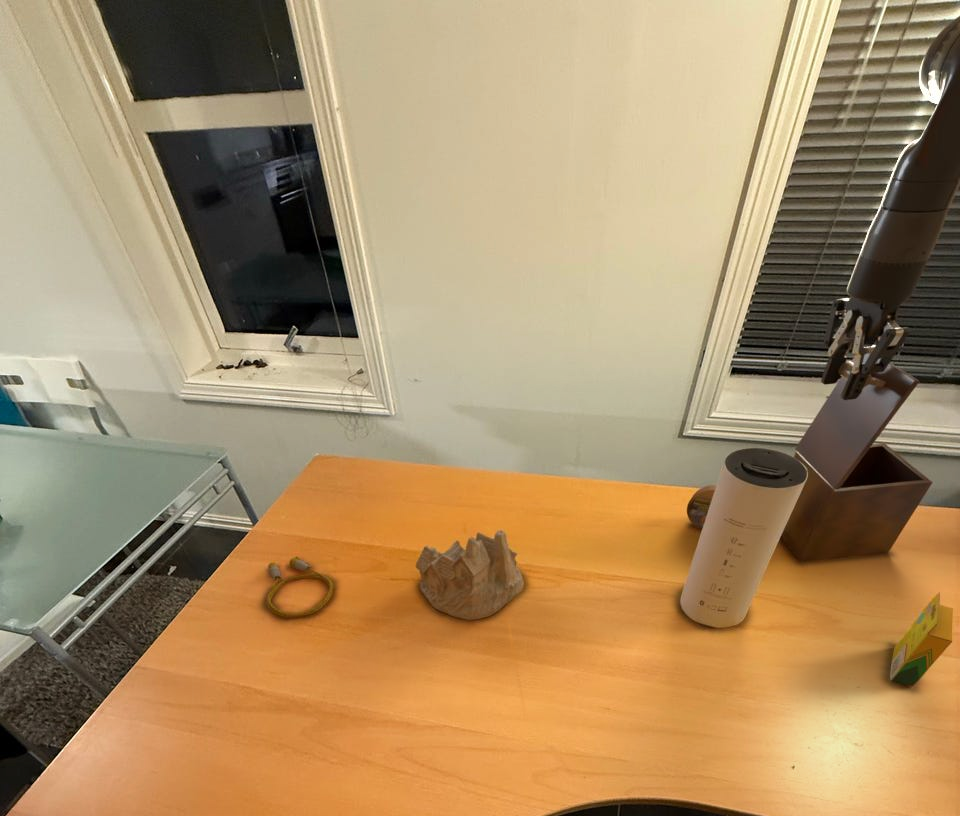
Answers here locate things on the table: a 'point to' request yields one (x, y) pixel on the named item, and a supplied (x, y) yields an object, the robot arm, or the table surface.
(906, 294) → the robot arm
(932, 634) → the crayon box
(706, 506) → the tin
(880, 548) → the chest
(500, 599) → the ceramic cottage
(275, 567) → the extension cord
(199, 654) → the table surface
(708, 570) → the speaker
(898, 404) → the lid
